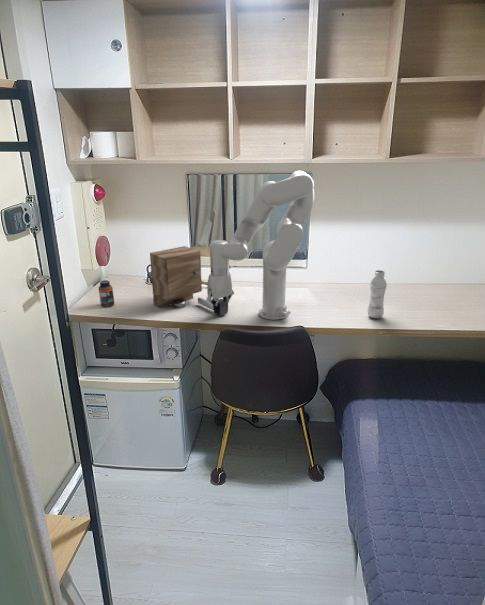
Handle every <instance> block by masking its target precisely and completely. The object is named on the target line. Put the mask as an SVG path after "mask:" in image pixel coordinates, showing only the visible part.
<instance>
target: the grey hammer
mask: <svg viewBox="0 0 485 605" xmlns="http://www.w3.org/2000/svg"><path fill="white" fill-rule="evenodd" d="M215 301H216V300H215ZM197 304H198V305H201V306H203V307H205V308H208V309H209V310H211V311H213V304H212V303H211V302H209V301H207V300H206V299H205V298H202V297H201V296H199V297H197ZM218 305H219V314H218V315H217V316H221V317H222V316H223V315H226V314H228V312H229V308H228V309H227V301H226V300H224V299H223V298H219V301H218Z"/></svg>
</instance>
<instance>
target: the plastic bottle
mask: <svg viewBox="0 0 485 605" xmlns="http://www.w3.org/2000/svg"><path fill="white" fill-rule="evenodd" d="M385 274H386V273H385V271H384V270H375V272H374V277H373V278H372V280H371V281H370V283H369V286H370V298H369V305H368V307H367V315H368V317H369V318H372V319H381V318H383V317H384V312H385V310H384V303H385V302H384V300H385V299H384V298H385V293H386V290H387V284H388V283H387V281H386V279H385V278H384V277H385Z"/></svg>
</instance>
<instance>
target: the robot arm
mask: <svg viewBox="0 0 485 605" xmlns="http://www.w3.org/2000/svg"><path fill="white" fill-rule="evenodd" d="M314 186H315V183H314V180H313V178H312V177H311V176H310V175H309V174H308V173H306V172H305V171H302V170H297V171H294V172H292V174H290V175H289V177H288V178H285V179H283V180H278V181H273V180H268V181H266V182H265V181H264V183H263V184H262V185H261V186H260V188H259V189H258V192H257V193H256V195H255V198H253V201H252V202H251V205H250V206H249V208H248V209H247V211H246V213H245V215H244V216H243V218H242V220H241V221H240V223H239V225H238V227H237V228H236V230H235V232H234V234H233V235H232V237H231V239H230V240H229V242H228V241H226V240H224V239H215V240H213V241H211V242H210V244H209V255H210V256H209V257H210V258H209V259H210V261H209V263H210V273H209V275H208V279H207V282H208V286H207V296H206V299H205V300H207V301H209V302H211V303H212V304H213V310H212V311H213V314H215V315H217V316H219V315H218V314H219V305H218V301H219V299H224V300H226V301H227V309H228V310H229V302H230V300H231V298H232V296H233V295H234V294H235V292H234V290H233V282H232V276H231V273H230V269H231V266H230V261H236V262H237V261H238V262H240V261H243V260H245V259H246V258H247V257H248V253H249V248H248V246H249V244H250V243H251V241H252V240H253V238H254V236H255V235H256V233H257V232H258V231H259V230H260V229H262V228H263V227H264V226H265V225H266V224H267V221H268V220H269V218H270V216H271V214H272V213H273V211H274V209H275V208H276V207H278V206H281V205H282V206H283V205H285V204H288V203H290V204H289V205H288V207H287V209H286V211H285V213H284V215H283V216H282V218H281V220H280V221H279V223H278V225H277V227H276V234H277V235H276V236H275V239H274V240H270V241H268V242H267V243H266V244H264V245H265V246H264V247H263V250H262V308H260V309H259V310H258V316H260V317H261V318H263V319H265V320H272V321H274V320H278V321H279V320H282V319H286V318H288V317H289V315H291V313H292V312H291V311H290V310H288V307H287V305H286V291H287V290H286V289H287V288H286V287H287V285H286V284H287V267H288V266H289V264H290V262H291V261H292V259H293V258H294V256H295V254H296V252H297V251H298V249H299V248H300V246H301V244H302V241H303V239H304V229H303V227H304V224H305V223H306V221H307V219H308V217H309V215H310V213H311V212H312V209H313V207H314V202H315V190H314ZM215 300H216V301H215Z"/></svg>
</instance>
